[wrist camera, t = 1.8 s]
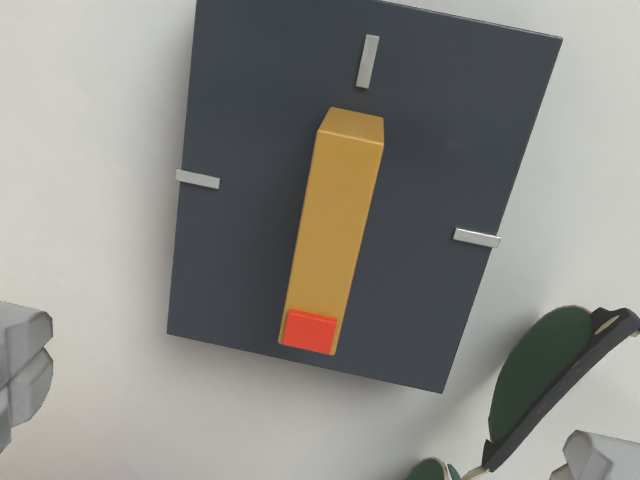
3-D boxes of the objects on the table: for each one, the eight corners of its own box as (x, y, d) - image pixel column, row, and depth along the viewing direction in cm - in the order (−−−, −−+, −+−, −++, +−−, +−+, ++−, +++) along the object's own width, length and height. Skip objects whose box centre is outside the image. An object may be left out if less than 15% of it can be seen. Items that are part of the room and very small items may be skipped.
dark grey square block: (224, -30, 18) (193, -38, 15) (538, 34, 17) (569, 38, 15) (189, 294, 22) (161, 336, 19) (437, 347, 22) (445, 398, 19)
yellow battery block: (330, 105, 16) (316, 131, 13) (384, 117, 16) (385, 145, 12) (295, 286, 18) (275, 349, 15) (342, 296, 18) (333, 362, 15)
